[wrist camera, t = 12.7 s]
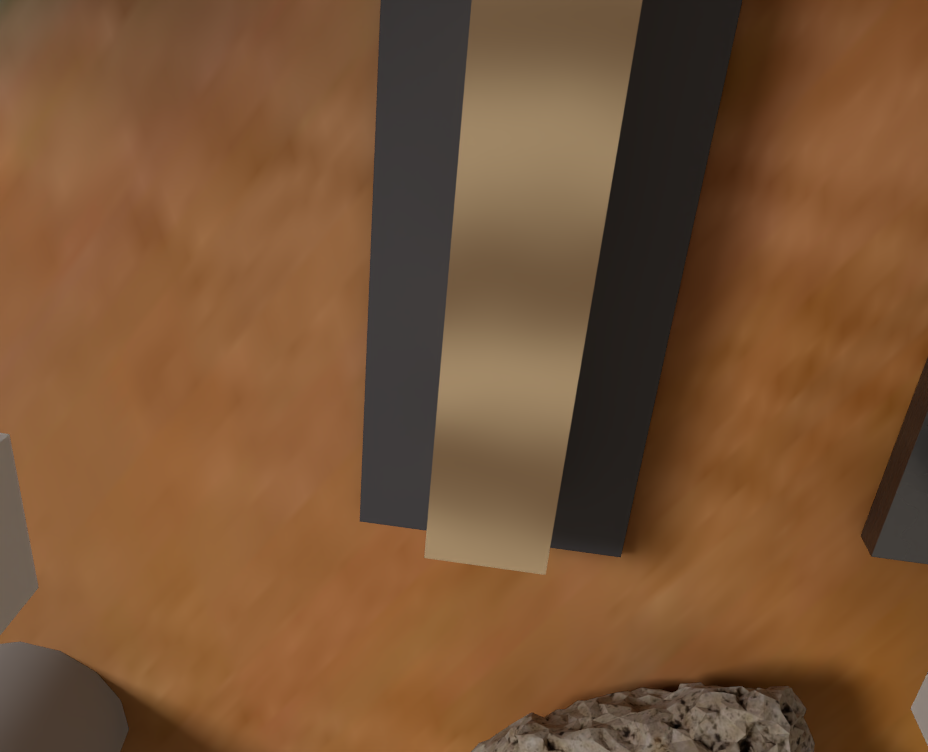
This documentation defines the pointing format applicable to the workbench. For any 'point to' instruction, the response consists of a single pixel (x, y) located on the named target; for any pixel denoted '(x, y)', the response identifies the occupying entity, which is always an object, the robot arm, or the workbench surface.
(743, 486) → the workbench surface
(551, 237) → the rail
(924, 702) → the robot arm
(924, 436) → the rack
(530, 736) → the pumice stone
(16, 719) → the cup
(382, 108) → the mat
